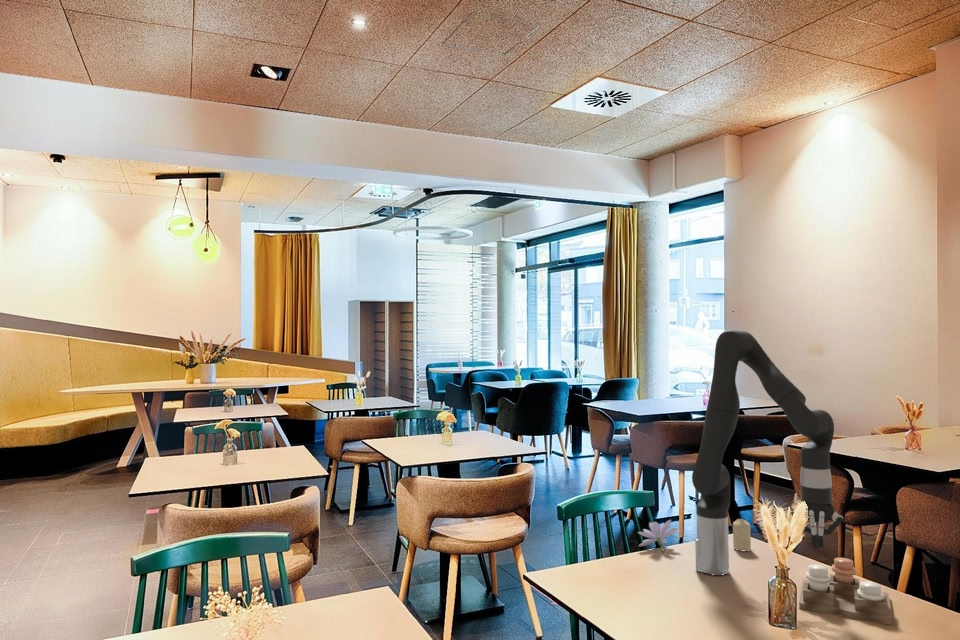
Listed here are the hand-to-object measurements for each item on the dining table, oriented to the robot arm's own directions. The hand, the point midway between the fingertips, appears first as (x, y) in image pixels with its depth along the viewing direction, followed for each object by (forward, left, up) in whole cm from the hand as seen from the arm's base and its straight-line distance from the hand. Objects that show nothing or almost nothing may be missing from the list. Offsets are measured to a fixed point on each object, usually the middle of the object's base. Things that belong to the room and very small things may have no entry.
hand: (817, 548), depth 174 cm
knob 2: (+12, 0, -13) cm, 18 cm away
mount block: (+6, +4, -15) cm, 17 cm away
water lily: (-50, +27, -15) cm, 59 cm away
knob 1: (0, 0, -11) cm, 11 cm away
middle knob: (+6, +9, -11) cm, 16 cm away
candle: (-25, +39, -15) cm, 48 cm away
